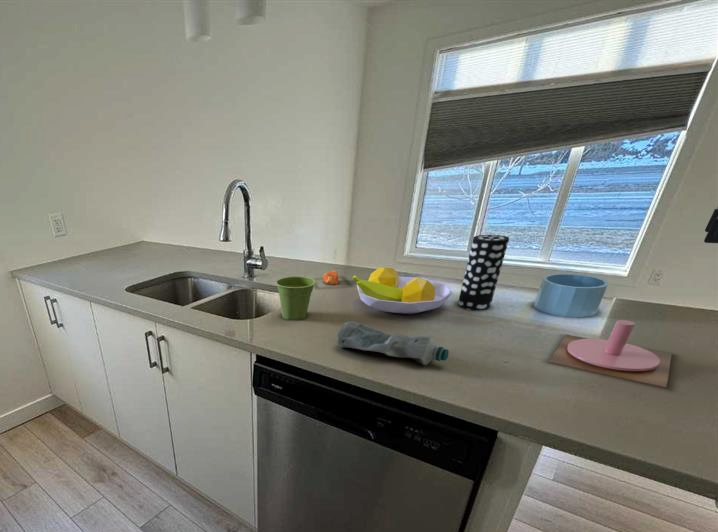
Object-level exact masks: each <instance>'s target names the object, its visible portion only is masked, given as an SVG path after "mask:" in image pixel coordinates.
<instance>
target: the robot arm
mask: <svg viewBox="0 0 718 532" xmlns="http://www.w3.org/2000/svg"><path fill="white" fill-rule="evenodd" d="M704 232H706V233H707V234H706V235H705V237H704V239H703V242H704V243H705V244H718V206H717V208H714V210H713V212H712V214H711V216H710V217H709V220H708V222H707V224H706V226H705V228H704Z"/></svg>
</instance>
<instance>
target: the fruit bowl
mask: <svg viewBox="0 0 718 532" xmlns="http://www.w3.org/2000/svg"><path fill="white" fill-rule="evenodd" d="M352 279H353V280H354V281H355V283H356V288H357V292H358V295H359V298H360V300H361V302H363V303H364V304H366V305H367V306H368V307H370V308H373V309H375V310H377V311H380V312H386V313H393V314H402V315H415V314H419V313H422V312H426V311H431V310H435V309H439V308H440V307H441V306H442V305H443V304H444V303H445V302H446V301H447V300H448V299H449V298H450V296H452V294H453V293H454V292H453V291H452V290H451V289H450V287H449V286H448V285H447V284H446V283H442V282H440V281H435V280H431V279H427V278H424V277H418V276H415V277H414V276H413V277H410V276H400V275H399V272H398V271H397V270H395V268H394V267H385V266H380V267H378V268H377V269H376V270H374V271H373V272H371V273H370V275H369V277H368V279H362V278H359V277H358V276H357V275H353V276H352Z"/></svg>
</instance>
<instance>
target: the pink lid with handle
mask: <svg viewBox="0 0 718 532" xmlns="http://www.w3.org/2000/svg"><path fill="white" fill-rule="evenodd" d="M635 325H636V323H635V322H634V321H632V320H626V319H625V320H624V319H618V320H616V322H615V324H614V326H613V329H612V331H611V333H610V335H609V337H608V339H603V338H587V339H580V340H575V341H572V342H570V343H569V344H568V346H567V350H568V352H569V353H570V354H571V355H573V356H574V357H576V358H578V359H580V360H582V361H585V362H587V363H590V364H593V365H597V366H601V367H605V368H610V369H616V370H624V371H647V370H652V369H654V368H656V367H658V366H659V364H660V359H659V358H658V357H657V356H656V355H655V354H653V353H652V352H650V351H648V350H649V349H648V350H645V349H646V348H644V347H640V346H637V345H635V344H630V343H627V342H628V340H629V338H630V336H631V335H632V331H633V330H634V327H635Z"/></svg>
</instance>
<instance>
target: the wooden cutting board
mask: <svg viewBox="0 0 718 532" xmlns="http://www.w3.org/2000/svg"><path fill="white" fill-rule="evenodd" d="M580 339H588V338H586V337H581V336H576V335H570V334H565V336H564V338H563V340H562V341H561V343H560V344H559V346H558V347H557V349H556V351H555V352H554V354H553V355H552V357H551V358H550V360H549V361H548V363H549V364H552V365H558V366H562V367H567V368H571V369H576V370H579V371H585V372H590V373H594V374H599V375H602V376H607V377H612V378H616V379H621V380H625V381H629V382H634V383H638V384H642V385H647V386H653V387H657V388H661V389H667V387H668V381H669V374H670V369H671V368H670V367H671V363H672V362H671V361H672V355H673V353H669V352H664V351H658V350H653V349H647V348H644V349H645V350H648V351H650V352H652V353H653V354H655V355H656V356H657V357H658V358H659V359H660V364H659V366H658V367H656V368H654V369H652V370H647V371H624V370H616V369H610V368H605V367H601V366H597V365H593V364H590V363H587V362H585V361H582V360H580V359H578V358H576V357H574V356H573V355H571V354H570V353H569V352H568V350H567V346H568V344H569V343H570V342H572V341H575V340H580Z"/></svg>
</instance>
